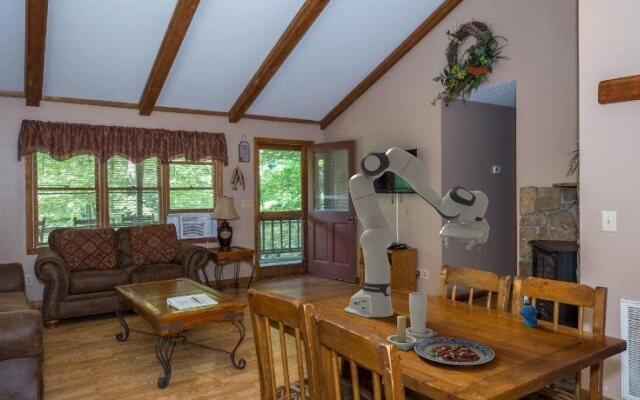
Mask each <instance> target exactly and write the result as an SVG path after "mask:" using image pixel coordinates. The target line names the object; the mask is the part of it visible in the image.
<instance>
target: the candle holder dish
mask: <svg viewBox="0 0 640 400" xmlns="http://www.w3.org/2000/svg"><path fill="white" fill-rule="evenodd" d="M396 319H397V320H396V322H397V323H396V324H397V325H396V328H397V329H396V331H397V332H396V333H397V334H395V335H389V336H387V339H386V341H387V340H388V341H390V342H392V343H394V344H396V345H397V346H398V347H399V349H400V350H399V349H398V350H399V351H403V352H407V351H409V350H411V349H413V348H414V346H415V344H416V343H418V342H419V341H422V340H425V339H430V338H435V337H436V336H438V335H439V333H438V331H437V332H436V331H433V330H432V329H430V328H427V327H425V334H423V335H422V334H413V333H412V332H411V326H410V327H407V318H406V316H405V315H398V316H397V318H396Z"/></svg>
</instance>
